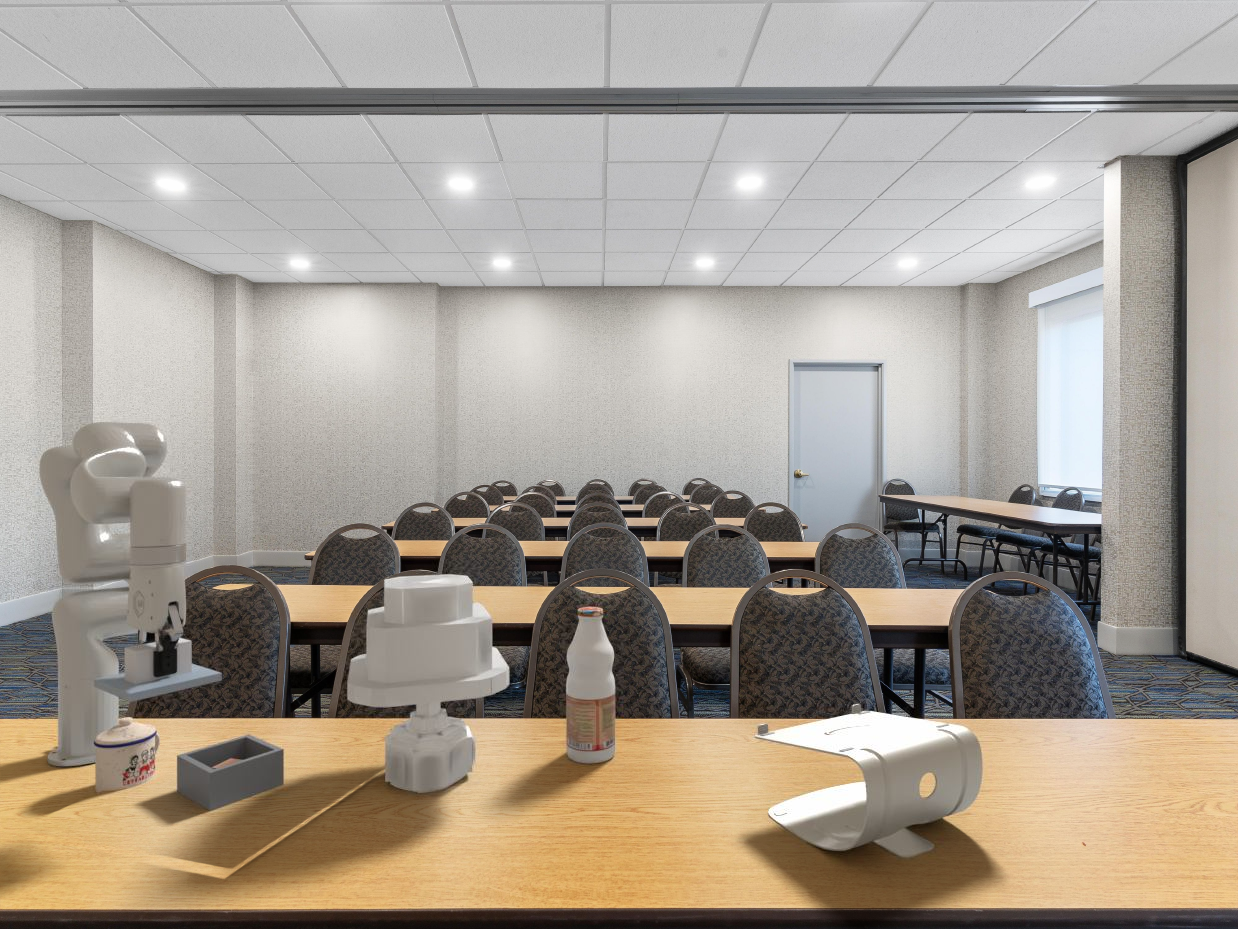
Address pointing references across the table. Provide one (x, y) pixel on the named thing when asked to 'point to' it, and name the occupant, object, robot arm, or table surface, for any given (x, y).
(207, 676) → the lid
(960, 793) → the portable electronic device stand
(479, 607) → the white tiered tall piece
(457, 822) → the table surface
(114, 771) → the teacup with lid
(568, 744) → the fruit juice
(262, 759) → the storage box
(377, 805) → the table surface
